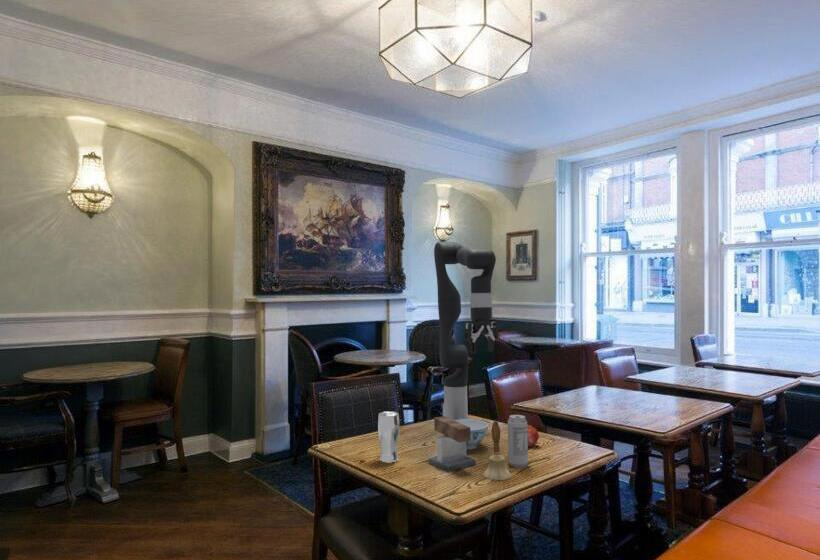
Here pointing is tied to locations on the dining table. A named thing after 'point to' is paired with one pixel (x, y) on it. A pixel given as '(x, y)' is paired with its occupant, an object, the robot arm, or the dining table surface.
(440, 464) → the stand
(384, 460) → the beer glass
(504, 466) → the hand bell
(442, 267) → the robot arm
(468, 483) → the dining table surface
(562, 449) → the dining table surface
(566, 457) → the dining table surface
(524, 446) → the energy drink can
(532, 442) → the pomegranate
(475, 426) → the chinaware
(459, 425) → the walnut plank
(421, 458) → the dining table surface
